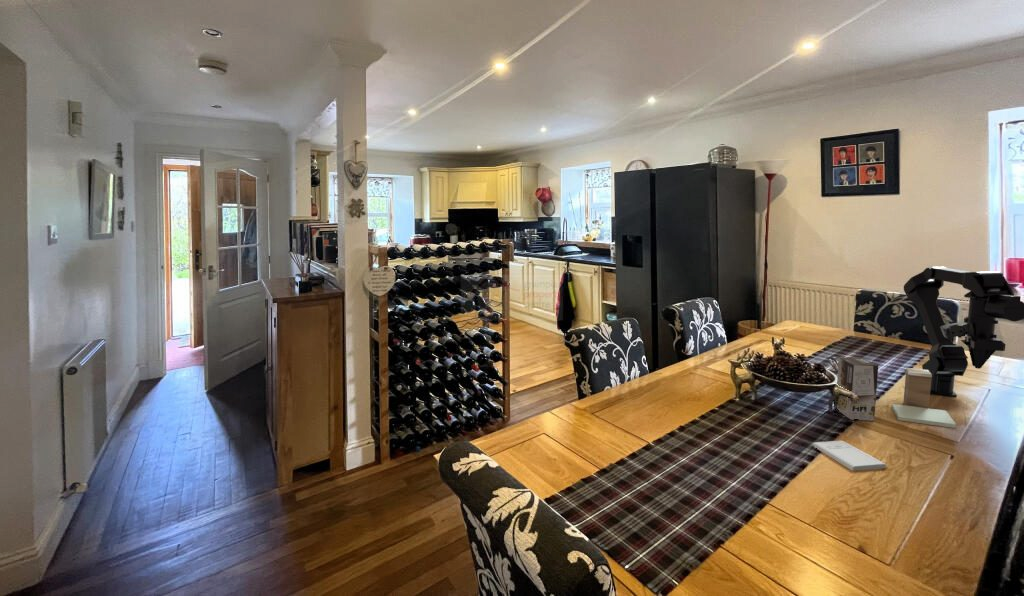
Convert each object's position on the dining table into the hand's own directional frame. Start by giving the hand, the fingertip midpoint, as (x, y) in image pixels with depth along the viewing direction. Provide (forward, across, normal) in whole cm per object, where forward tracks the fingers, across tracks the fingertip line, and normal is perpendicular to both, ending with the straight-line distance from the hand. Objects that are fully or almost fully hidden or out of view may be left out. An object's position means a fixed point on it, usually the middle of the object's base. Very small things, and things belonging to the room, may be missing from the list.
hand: (976, 367), depth 137 cm
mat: (+12, +16, -14) cm, 24 cm away
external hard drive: (+13, +53, -34) cm, 64 cm away
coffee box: (+12, +22, -30) cm, 39 cm away
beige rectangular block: (+12, +7, -14) cm, 20 cm away
